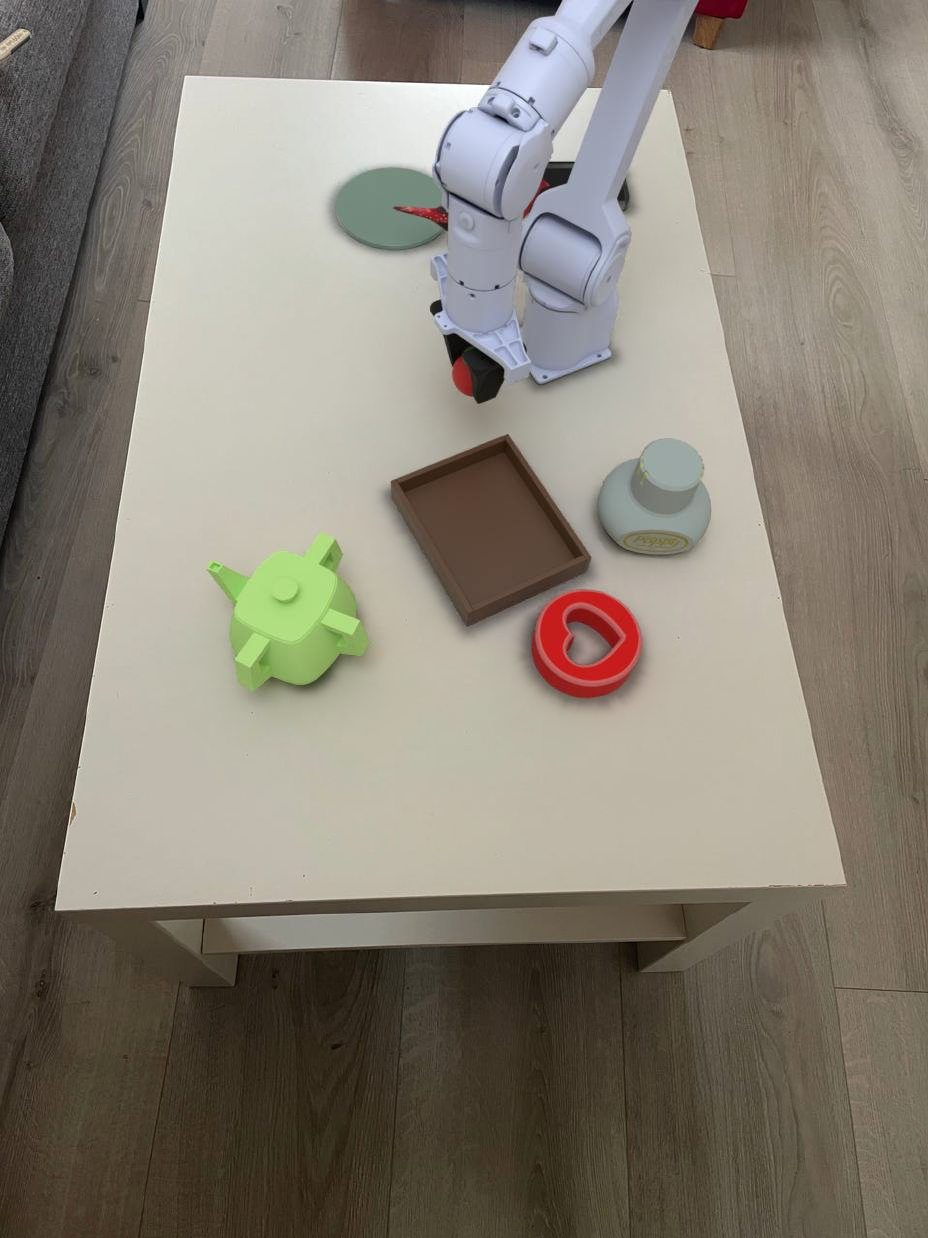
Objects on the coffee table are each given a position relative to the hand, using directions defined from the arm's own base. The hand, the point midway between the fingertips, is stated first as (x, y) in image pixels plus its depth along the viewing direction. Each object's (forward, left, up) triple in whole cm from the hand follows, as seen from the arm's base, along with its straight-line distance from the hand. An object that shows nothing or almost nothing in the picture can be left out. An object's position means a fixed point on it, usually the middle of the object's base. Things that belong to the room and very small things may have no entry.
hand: (473, 381), depth 81 cm
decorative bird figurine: (-13, -25, -3) cm, 28 cm away
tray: (+4, +11, -9) cm, 15 cm away
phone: (-29, -29, -9) cm, 42 cm away
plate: (-8, -35, -9) cm, 37 cm away
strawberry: (0, 0, +1) cm, 1 cm away
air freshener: (-11, +17, -9) cm, 22 cm away
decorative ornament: (+2, +26, -9) cm, 28 cm away
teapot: (+25, +13, -9) cm, 30 cm away
